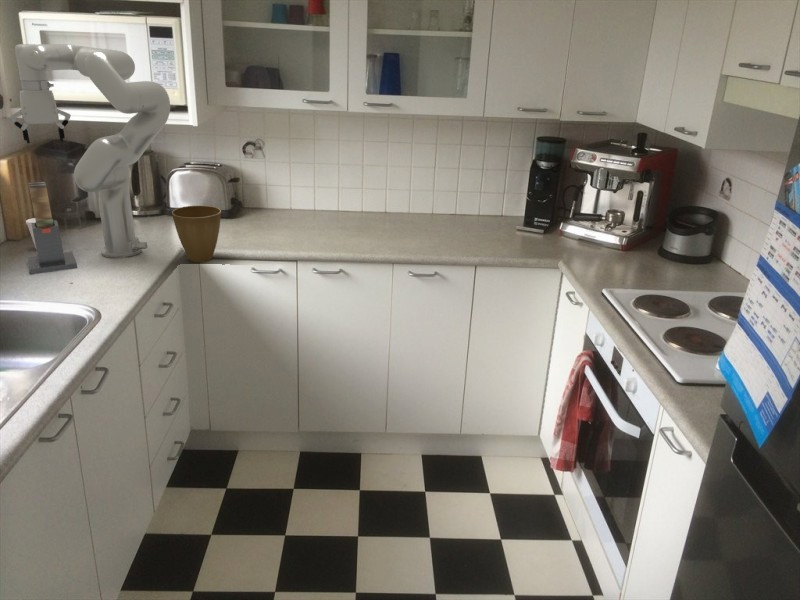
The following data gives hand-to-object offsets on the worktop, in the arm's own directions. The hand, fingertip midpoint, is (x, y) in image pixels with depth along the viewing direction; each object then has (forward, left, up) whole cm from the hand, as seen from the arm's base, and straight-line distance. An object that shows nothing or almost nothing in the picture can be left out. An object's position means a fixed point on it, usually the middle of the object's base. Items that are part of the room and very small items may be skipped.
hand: (45, 141), depth 212 cm
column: (-9, +21, -27) cm, 36 cm away
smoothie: (+4, +6, -35) cm, 35 cm away
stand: (-9, +21, -34) cm, 41 cm away
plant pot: (-52, +8, -35) cm, 63 cm away
